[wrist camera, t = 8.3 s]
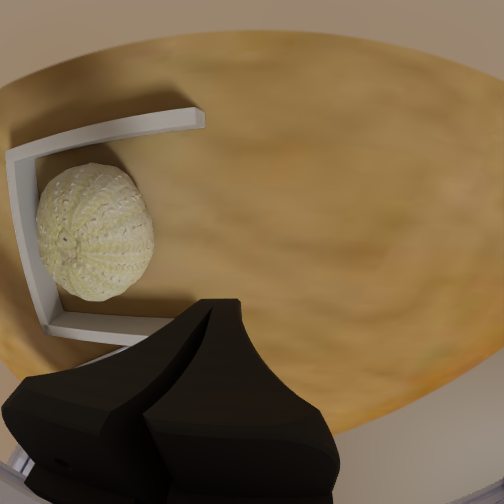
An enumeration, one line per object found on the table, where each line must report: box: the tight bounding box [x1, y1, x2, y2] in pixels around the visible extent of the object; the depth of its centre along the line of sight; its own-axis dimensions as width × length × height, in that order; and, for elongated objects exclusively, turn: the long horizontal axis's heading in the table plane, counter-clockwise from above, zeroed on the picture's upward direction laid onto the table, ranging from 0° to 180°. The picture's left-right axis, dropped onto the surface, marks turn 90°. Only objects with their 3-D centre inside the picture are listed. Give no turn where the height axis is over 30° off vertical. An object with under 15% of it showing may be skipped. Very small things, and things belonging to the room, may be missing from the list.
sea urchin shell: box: [36, 162, 155, 302], centre depth 18 cm, size 9×8×8 cm
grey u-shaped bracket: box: [5, 107, 205, 346], centre depth 19 cm, size 15×15×2 cm
